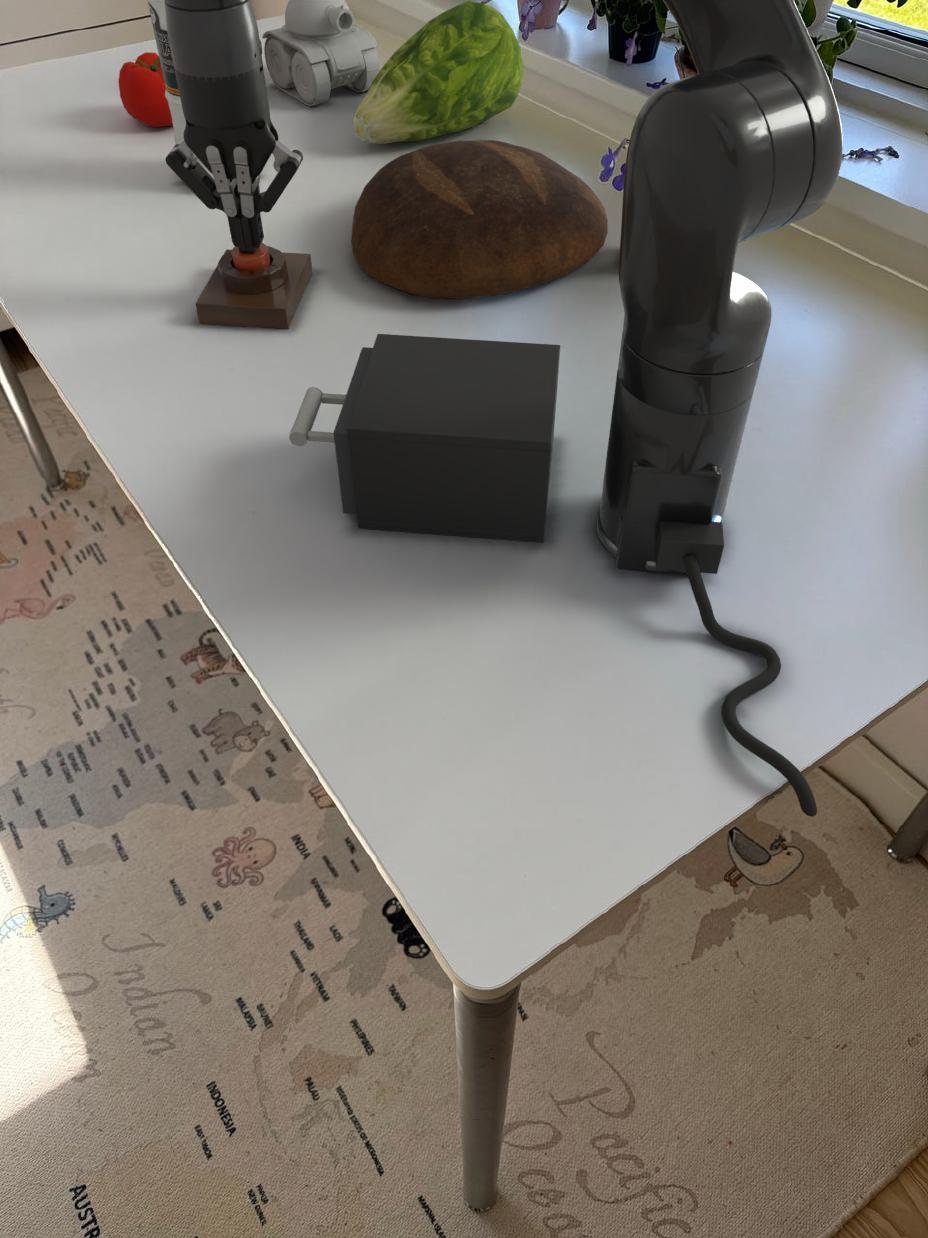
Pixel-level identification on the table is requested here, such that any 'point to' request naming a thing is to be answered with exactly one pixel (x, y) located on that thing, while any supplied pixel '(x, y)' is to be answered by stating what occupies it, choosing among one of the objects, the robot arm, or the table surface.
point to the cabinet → (454, 437)
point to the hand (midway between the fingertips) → (250, 248)
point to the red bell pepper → (145, 91)
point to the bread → (475, 220)
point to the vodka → (168, 70)
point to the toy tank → (320, 51)
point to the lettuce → (444, 78)
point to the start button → (251, 259)
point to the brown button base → (255, 292)
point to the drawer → (339, 437)
